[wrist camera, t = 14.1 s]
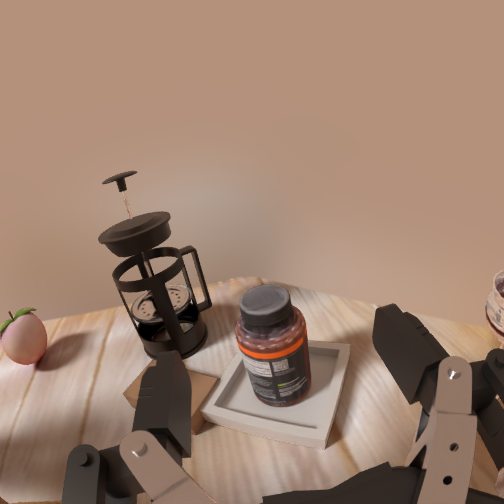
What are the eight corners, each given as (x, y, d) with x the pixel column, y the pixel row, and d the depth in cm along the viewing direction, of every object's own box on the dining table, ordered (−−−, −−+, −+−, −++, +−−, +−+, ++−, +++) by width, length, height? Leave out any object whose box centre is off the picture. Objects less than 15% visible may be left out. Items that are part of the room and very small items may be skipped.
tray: (205, 420, 25) (199, 410, 24) (252, 344, 35) (249, 332, 34) (324, 449, 20) (325, 440, 19) (349, 356, 30) (350, 343, 29)
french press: (149, 374, 32) (71, 193, 23) (135, 336, 40) (77, 187, 30) (230, 337, 37) (183, 156, 28) (203, 306, 45) (162, 158, 35)
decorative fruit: (34, 385, 30) (-2, 333, 26) (14, 371, 33) (-17, 324, 29) (68, 349, 38) (39, 298, 34) (45, 340, 41) (19, 294, 37)
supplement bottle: (283, 357, 31) (268, 269, 26) (324, 383, 26) (319, 291, 22) (241, 387, 28) (212, 301, 23) (280, 420, 23) (260, 333, 19)
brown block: (132, 406, 27) (122, 393, 26) (160, 373, 32) (153, 359, 31) (196, 435, 24) (187, 422, 23) (223, 392, 28) (217, 378, 27)
